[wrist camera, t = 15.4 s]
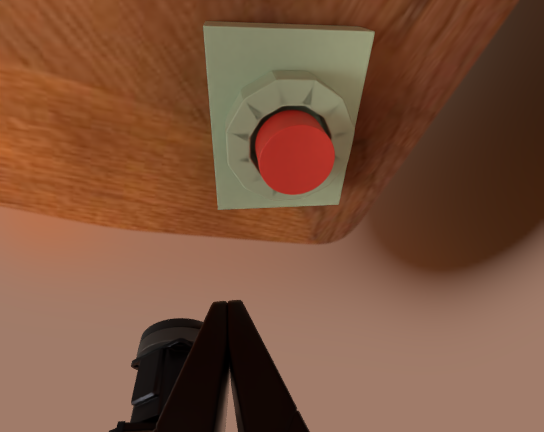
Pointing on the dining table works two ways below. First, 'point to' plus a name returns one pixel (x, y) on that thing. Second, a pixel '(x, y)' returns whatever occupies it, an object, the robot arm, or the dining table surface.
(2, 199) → the dining table surface
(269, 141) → the stop button
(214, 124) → the green button base
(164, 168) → the dining table surface
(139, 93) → the dining table surface
